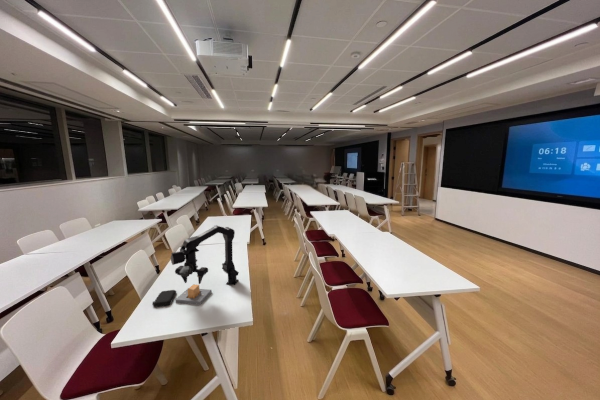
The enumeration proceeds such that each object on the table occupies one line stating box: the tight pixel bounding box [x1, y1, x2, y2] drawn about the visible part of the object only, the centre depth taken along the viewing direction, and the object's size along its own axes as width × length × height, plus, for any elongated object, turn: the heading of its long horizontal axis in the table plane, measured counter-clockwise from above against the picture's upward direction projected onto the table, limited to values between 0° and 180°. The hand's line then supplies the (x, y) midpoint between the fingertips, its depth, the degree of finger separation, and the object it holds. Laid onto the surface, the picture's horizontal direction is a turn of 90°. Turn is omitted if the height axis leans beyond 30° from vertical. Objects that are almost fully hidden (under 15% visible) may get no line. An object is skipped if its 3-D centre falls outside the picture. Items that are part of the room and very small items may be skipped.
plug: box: [187, 284, 200, 299], centre depth 146 cm, size 6×4×7 cm, turn 172°
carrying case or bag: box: [151, 289, 177, 308], centre depth 144 cm, size 11×3×15 cm
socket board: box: [175, 287, 212, 306], centre depth 147 cm, size 13×16×2 cm
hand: (192, 283), depth 145 cm, fingers open, 9 cm apart
